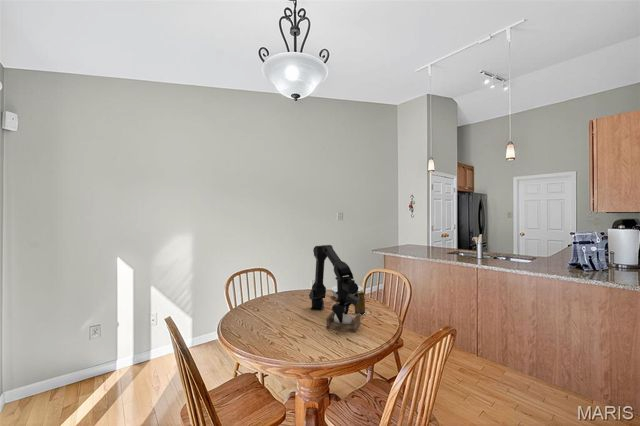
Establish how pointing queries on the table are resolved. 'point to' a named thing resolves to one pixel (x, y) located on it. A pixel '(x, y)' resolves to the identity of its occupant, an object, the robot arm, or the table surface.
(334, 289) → the serving bowl
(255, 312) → the table surface
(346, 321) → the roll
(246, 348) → the table surface
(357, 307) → the condiment
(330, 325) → the cradle
